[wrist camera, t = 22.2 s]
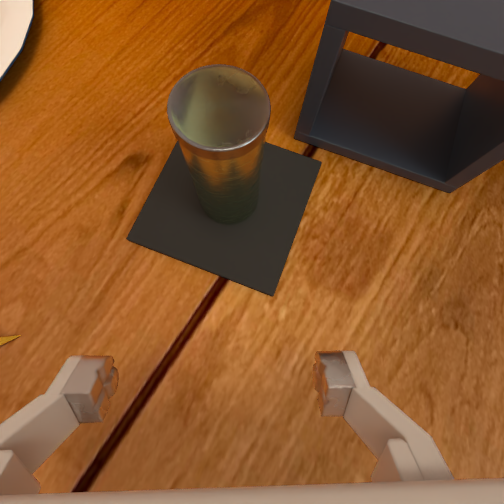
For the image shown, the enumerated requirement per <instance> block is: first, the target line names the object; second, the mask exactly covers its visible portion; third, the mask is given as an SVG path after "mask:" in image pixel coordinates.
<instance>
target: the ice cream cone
mask: <svg viewBox="0 0 504 504" xmlns="http://www.w3.org/2000/svg"><path fill="white" fill-rule="evenodd" d="M19 336H21V335H16V336H3V337H0V346H1V345H3V344H5V343H7V342H9V341H11V340H13V339H15V338H17V337H19Z"/></svg>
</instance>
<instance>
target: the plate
mask: <svg viewBox="0 0 504 504" xmlns="http://www.w3.org/2000/svg"><path fill="white" fill-rule="evenodd" d="M33 18H34V0H0V82H1V80H2V79H3V77H4V76H5V74H6V73H7V72H8V70H9V69H10V67H11V66H12V65H13V63H14V62H15V60H16V59H17V57H18V56H19V55H20V53H21V52H22V50H23V47H24V44H25V42H26V39H27V36H28V33H29V30H30V27H31V24H32V21H33Z"/></svg>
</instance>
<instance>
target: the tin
mask: <svg viewBox="0 0 504 504" xmlns="http://www.w3.org/2000/svg"><path fill="white" fill-rule="evenodd" d="M270 111H271V106H270V100H269V96H268V94H267V92H266V90H265V88H264V86H263V85H262V84H261V83H260V81H259V80H258V79H257V78H256V77H254V76H253V75H252V74H250V73H249V72H247V71H245V70H243V69H240V68H238V67H234V66H230V65H221V64H217V65H208V66H203V67H200V68H197V69H195V70H193V71H191V72H189V73H187V74H186V75H184V76H183V77H182V78H181V79H180V80H179V81H178V82H177V83H176V84H175V86H174V87H173V89H172V91H171V93H170V95H169V99H168V104H167V114H168V119H169V122H170V125H171V128H172V130H173V133H174V135H175V137H176V138H177V140H178V141H179V144H180V147H181V149H182V152H183V155H184V158H185V161H186V164H187V166H188V169H189V172H190V175H191V178H192V181H193V184H194V186H195V189H196V192H197V195H198V198H199V201H200V203H201V206H202V209H203V211H204V212H205V214H206V215H207V216H208V217H209V218H210V219H212V220H213V221H215V222H217V223H220V224H224V225H233V224H238V223H241V222H243V221H245V220H246V219H248V218H249V217H250V216H251V215H252V214H253V212H254V211H255V209H256V206H257V202H258V194H259V186H260V178H261V169H262V161H263V153H264V144H265V136H266V132H267V129H268V126H269V120H270Z"/></svg>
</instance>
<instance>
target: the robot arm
mask: <svg viewBox="0 0 504 504" xmlns="http://www.w3.org/2000/svg"><path fill="white" fill-rule="evenodd" d="M315 360H316V363H315V364H314V365H313V383H314V387H315V390H316V391H317V392H318V393H319V395H318V404H319V408H320V412H321V416H344V417H343V418H344V419H345V420H346V421H347V423H348V424H349V425H350V426H351V428H352V429H353V430H354V431H355V432H356V434H357V435H358V436H359V437H360V438H361V440H362V441H363V442H364V443H365V444H366V446H367V447H368V448H369V449H370V451H371V452H372V453H373V454H374V455H375V457H376V458H377V459H378V462H377V464H376V466H375V468H374V470H373V472H372V474H371V479H372V482H367V483H338V484H308V485H279V486H249V487H220V488H191V489H161V490H132V491H104V492H75V493H46V494H38V493H39V491H40V489H41V486H40V483H39V482H38V481H37V479H36V478H35V477H34V476H33V475H32V474H33V473H34V472H35V471H36V470H37V469H38V468H39V467H40V466H41V465H42V464H43V463H44V461H45V460H46V459H47V458H48V457H49V456H50V455H51V454H52V453H53V452H54V451H55V450H56V449H57V448H58V447H59V446H60V445H61V444H62V443H63V442H64V441H65V440H66V439H67V438H68V437H69V436H70V434H71V433H72V432H73V431H74V430H75V429H76V428H77V427H78V426H79V425H80V424H79V423H95V422H103V421H104V418H105V416H106V414H107V411H108V409H109V406H110V403H109V400H108V399H109V398H110V397H111V396H113V395H114V394H115V391H116V389H117V386H118V380H119V374H118V370H117V368H115V367H114V366H113V363H114V359H113V357H112V356H70V357H69V358H68V359H67V360H66V361H65V363H64V365H63V366H62V368H61V369H60V371H59V373H58V374H57V376H56V377H55V379H54V380H53V382H52V384H51V385H50V387H49V388H48V390H47V391H46V393H45V395H39V396H38V397H37V398H35V399H34V400H33V401H31V402H30V403H29V404H27V405H26V406H24V407H23V408H22V409H20V410H19V411H18V412H16V413H15V414H14V415H12V416H11V417H9V418H8V419H7V420H5V421H4V422H3V423H1V424H0V504H504V478H483V479H454V477H453V476H452V474H451V472H450V470H449V468H448V466H447V464H446V462H445V461H444V459H443V457H442V455H441V453H440V451H439V449H438V448H437V446H436V444H435V442H434V440H433V438H432V437H431V436H430V435H429V434H428V433H427V432H426V431H425V430H423V429H422V428H421V427H420V426H419V425H418V424H416V423H415V422H414V421H413V420H412V419H411V418H409V417H408V416H407V415H406V414H405V413H404V412H402V411H401V410H400V409H399V408H398V407H397V406H396V405H394V404H393V403H392V402H391V401H390V400H389V399H387V398H386V397H385V396H384V395H383V394H382V393H380V392H379V391H378V390H377V389H376V388H375V387H370V385H369V382H368V380H367V378H366V375H365V373H364V371H363V368H362V366H361V364H360V362H359V359H358V357H357V355H356V353H355V352H354V351H317V352H316V354H315Z"/></svg>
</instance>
